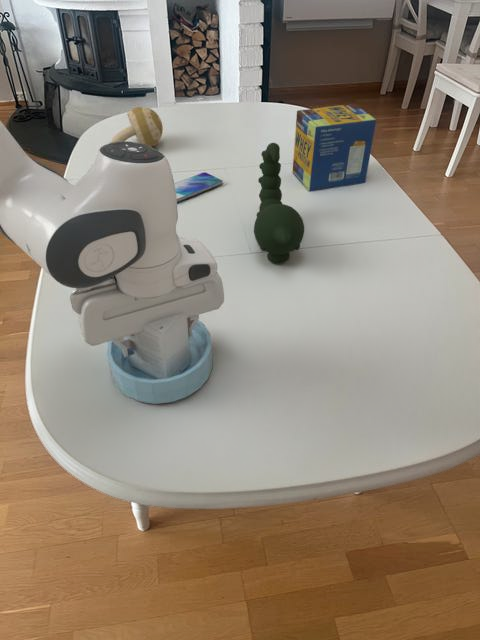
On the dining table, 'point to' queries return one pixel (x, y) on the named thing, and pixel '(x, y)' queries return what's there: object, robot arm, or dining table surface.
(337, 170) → the protein box
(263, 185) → the toy figurine
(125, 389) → the bowl
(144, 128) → the mushroom
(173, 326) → the small box
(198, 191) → the smartphone
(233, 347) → the dining table surface
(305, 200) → the dining table surface
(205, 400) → the dining table surface
